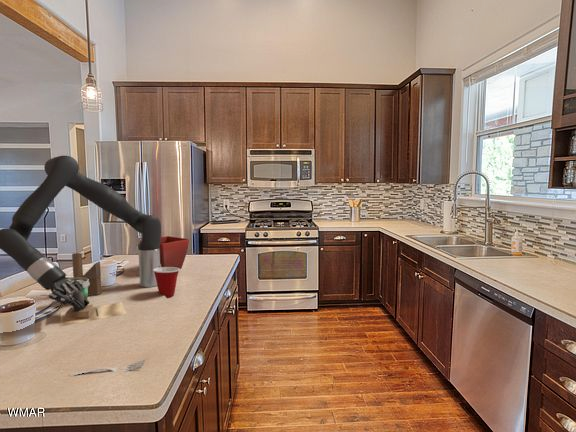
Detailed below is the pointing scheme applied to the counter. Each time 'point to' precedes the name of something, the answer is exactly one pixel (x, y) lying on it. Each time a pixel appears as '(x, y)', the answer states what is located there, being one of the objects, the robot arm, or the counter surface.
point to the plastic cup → (166, 280)
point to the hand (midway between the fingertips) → (84, 306)
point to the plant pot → (173, 251)
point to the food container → (82, 284)
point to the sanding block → (83, 313)
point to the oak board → (97, 313)
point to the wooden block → (87, 274)
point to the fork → (114, 368)
